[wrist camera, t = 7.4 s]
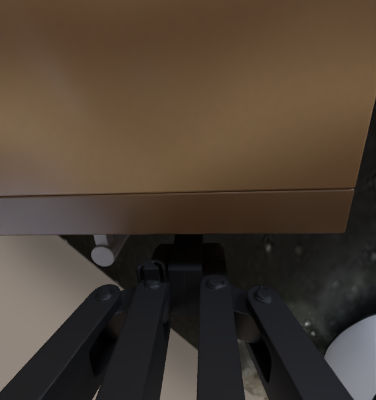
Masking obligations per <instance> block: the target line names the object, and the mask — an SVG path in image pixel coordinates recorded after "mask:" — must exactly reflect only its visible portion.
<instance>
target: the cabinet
mask: <svg viewBox="0 0 376 400" xmlns="http://www.w3.org/2000/svg"><path fill="white" fill-rule="evenodd" d="M375 97H376V0H0V235H131V234H276V233H344V232H345V229H346V225H347V220H348V216H349V212H350V207H351V203H352V198H353V194H354V189H353V188H355V185H356V181H357V176H358V172H359V168H360V163H361V159H362V154H363V150H364V146H365V141H366V137H367V133H368V128H369V124H370V119H371V115H372V111H373V106H374V102H375Z"/></svg>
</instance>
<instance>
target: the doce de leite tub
mask: <svg viewBox="0 0 376 400" xmlns="http://www.w3.org/2000/svg"><path fill="white" fill-rule="evenodd" d="M324 359H325V360H326V361H327V363H328V364H329V366H330V367H331V368H332V370H333V371H334V373H335V374H336V375H337V377H338V378H339V380H340V381H341V382H342V384H343V385H344V387H345V388H346V389H347V391H348V392H349V394H350V395H351V396H352V398H353V399H354V400H376V313H372V314H369V315H365V316H363V317H362V318H360V319H358V320H357V321H355V322H354V323H352V324H350V325H348V326H346V327H344V328H343V330H342V331H341V332H340V333H338V335H337V336H336V337H335V338H334V339H333V340H332V341H331V342H330V344H329V345H328V347H327V349H326V352H325V355H324Z"/></svg>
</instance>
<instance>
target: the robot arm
mask: <svg viewBox="0 0 376 400" xmlns="http://www.w3.org/2000/svg"><path fill="white" fill-rule="evenodd" d="M136 272H137V278H138V286H136V287H134V288H131V289H127V290H122V291H120V289H119V287H118V286H116V285H112V284H107V285H103V286H101V287H98V288H97V289H95V290H94V291H93V292H92V293H91V294H90V295H89V296H88V297H87V298H86V299H85V301H84V302H83V303H82V304H81V305H80V306H79V307H78V308H77V309H76V310H75V311H74V312H73V313H72V315H71V316H70V317H69V318H68V319H67V320H66V321H65V322H64V323H63V324H62V325H61V327H60V328H59V329H58V330H57V331H56V332H55V333H54V334H53V335H52V336H51V337H50V339H49V340H48V341H47V342H46V343H45V344H44V345H43V346H42V347H41V348H40V349H39V351H38V352H37V353H36V354H35V355H34V356H33V357H32V358H31V359H30V360H29V361H28V362H27V364H26V365H25V366H24V367H23V368H22V369H21V370H20V371H19V372H18V373H17V374H16V375H15V376H14V378H13V379H12V380H11V381H10V382H9V383H8V384H7V385H6V386H5V387H4V388H3V390H2V391H1V392H0V400H92V399H93V397H94V395H95V394H96V392H97V390H98V389H99V391H98V394H97V397H96V400H160V393H161V387H162V381H163V374H164V367H165V361H166V354H167V348H168V340H169V334H170V328H171V321H170V315H171V310H172V316H199V340H198V373H197V400H245V394H244V387H243V379H242V372H241V364H240V357H239V349H238V342H237V339H240V340H243V341H245V344H246V347H247V349H248V351H249V354H250V356H251V358H252V361H253V363H254V365H255V368H256V370H257V373H258V375H259V377H260V380H261V382H262V384H263V387H264V389H265V391H266V394H267V396H268V398H269V400H354V399H353V398H352V396H351V395H350V394H349V392H348V391H347V389H346V388H345V387H344V385H343V384H342V382H341V381H340V380H339V378H338V377H337V375H336V374H335V373H334V371H333V370H332V368H331V367H330V366H329V364H328V363H327V361H326V360H325V359H324V357H323V356H322V354H321V353H320V352H319V350H318V349H317V347H316V346H315V345H314V343H313V342H312V340H311V339H310V338H309V336H308V335H307V333H306V332H305V331H304V329H303V328H302V326H301V325H300V324H299V322H298V321H297V319H296V318H295V317H294V315H293V314H292V312H291V311H290V310H289V308H288V307H287V305H286V304H285V303H284V301H283V300H282V298H281V297H280V296H279V294H278V293H277V292H276V291H275V290H273V289H272V288H270V287H267V286H263V285H256V286H253V287H251V288H250V289H249V290H248V291H245V290H241V289H238V288H236V287H234V286H233V285H232V284H231V283H230V282H229V281H228V278H227V270H226V263H225V255H224V248H223V247H222V246H221V245H220V243H204V240H203V234H176V235H175V240H174V244H160V245H159V246H158V247H157V248H155V250H154V253H153V256H152V259H151V260H148V261H145V262H143V263H141V264H140V265H138V267H137V268H136ZM100 385H101V386H100ZM99 387H100V388H99Z"/></svg>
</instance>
